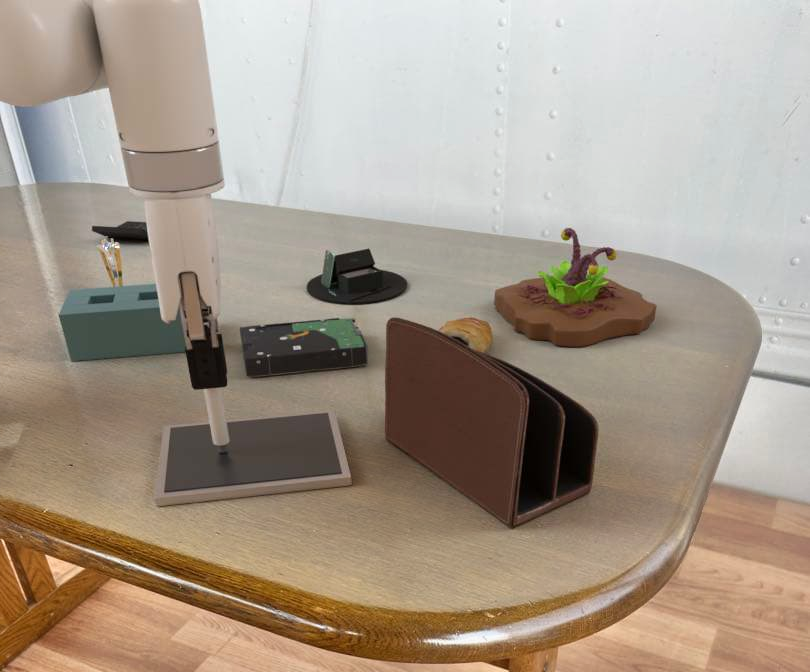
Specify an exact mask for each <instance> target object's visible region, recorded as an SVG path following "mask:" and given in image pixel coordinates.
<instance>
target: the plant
mask: <svg viewBox="0 0 810 672" xmlns="http://www.w3.org/2000/svg"><path fill="white" fill-rule="evenodd" d="M560 238H561V240H563V241H569V240H571V239H572V244H573V245H572V250H573V251H572V255H571V257H572V259H571V260H570V262H568V261H566V260H562V261H561V262H560V263H559V266H558V267H555V266H554V265H549V270H550V272H551V273H552V275H550V274H548V273H547V272H545V271H540V270H536V274H537V275H538V276H539V277H537V278H536V277H535V278H529V279H523V280H521V281H519V282H518V283H514V284H510V285H505V286H503V287H500V288H498V289H496V290H495V291H494V298H493V299H494V300H493V305H494V309H495V311H497V312H498V313H499V314H501V315H502V316H503V319H504V320H505V321H506V322H507V323H509V324H510V325H512V326H514V327H513V330H514V332H516V333H520V334H524V335H525V336H526V337H527V338H528V339H529V340H532V341H549V342H551V343H552V344H553V345H554V346H558V347H568V348H579V347H587V346H590V345H594V344H597V343H599V342H602V341H604V340H609V339H613V338H617V337H618V338H619V337H623V336H629V335H631V336H632V335H639V334H641V333H642V332H643V331H645V330H647V329H649V327H650V326H651V324H652V322H654V320H655V317H656V313H657V304H656V303H653V302H650V301H647V300H646V299H644V297H643V294H642V293H641V292H639V291H636V290H634V289H631V288H628V287H625V286H623V285H621V284H619V283H617V282H615V281H614V280H612V279H609V278H607V277H605V276H606V274H607V272H608V271H609V267H608V266H603V267H599V263H598V261H597V260H596V258H597V256H598V255H600V254H602V253H605V256H606V258H607V260H609V261H615V260H616V258H617V257H618V256H617V251H616V250H615V249H614V248H611V247H610V246H607V247H606V246H603V247H600V248H597V249H596V250H595V251H593V252H592V254H591V253H587V254H584V255H583V256H582V254H581V252H582V250H581V244H580V242H579V237H578V234H577V232H576V230H574V229H573V228H572V227H566V228H564V229H563V230H562V231H561V233H560Z"/></svg>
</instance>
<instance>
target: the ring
mask: <svg viewBox="0 0 810 672" xmlns="http://www.w3.org/2000/svg"><path fill="white" fill-rule="evenodd" d="M100 243H101V244H99V243H98V244H97V245H95V247H96V249H98V252H99V254H100V256H101V259H102V261H103V264H104V266H105V270H106V271H107V275H108V277H109V280H110V282H111V285H112V287H118V286H124V285H123V270H122V269H123V268H122V260H121V259H122V258H121V252H120V246H121V245H120V243H119V242H114V238H110V241H109V240H107V238H103V239H102V240H100ZM112 253H113V255H114V257H115V261H114V259H113V256H112ZM115 262H116V265H115ZM116 266H117V267H116Z"/></svg>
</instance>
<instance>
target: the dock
mask: <svg viewBox="0 0 810 672" xmlns="http://www.w3.org/2000/svg"><path fill="white" fill-rule="evenodd" d="M58 318H59V323H60V326H61V330H62V334H63V336H64V337H63V338H64V340H65V345H66V347H67V351H68V355H69V358H70V362H82V360H83V361H92V360H93V361H94V359H95V360H105V359H104V358H107V359H118V358H117V357H119V358H129V357H141V356H142V357H143V356H154V355H166V354H178V353H186V352H185V347H186V343H185V337H184V332H183V327H182V322H181V316H180V311H179V307H178V312H177V316H176V320H171V323H168V324H167V323H165V322H164V321H163V320H162V319H161V313H160V306H159V300H158V293H157V287H156V283H147V284H135V285H134V284H133V285H123V286H118V287H113V286H106V287H92V288H76V289H69V290H68V293H67V294H66V297H65V299H64V301H63V304H62V306H61V308H60V311H59V313H58ZM80 360H81V361H80Z"/></svg>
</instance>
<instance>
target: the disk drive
mask: <svg viewBox="0 0 810 672" xmlns="http://www.w3.org/2000/svg"><path fill="white" fill-rule="evenodd" d="M239 335H240V343H241V350H242V358H243V364H244V371H245V376H246V377H266V376H275V375H278V376H279V375H286V374H287V375H288V374H296V373H305V372H310V371H311V372H313V371H326V370H337V369H347V368H353V367H354V368H355V367H362V366H363V365H368V364H369V351H368V344H367V342H366V340H365V337H364V336H363V332H362V331H361V330H360V328H359V326H358V323H357V322H356V318H354V317H350V318H349V317H343V318H339V317H333V318H332V317H331V318H325V319H313V320H312V319H311V320H303V321H292V322H280V323H269V324H257V325H256V324H255V325H249V326H248V325H247V326H239Z"/></svg>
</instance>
